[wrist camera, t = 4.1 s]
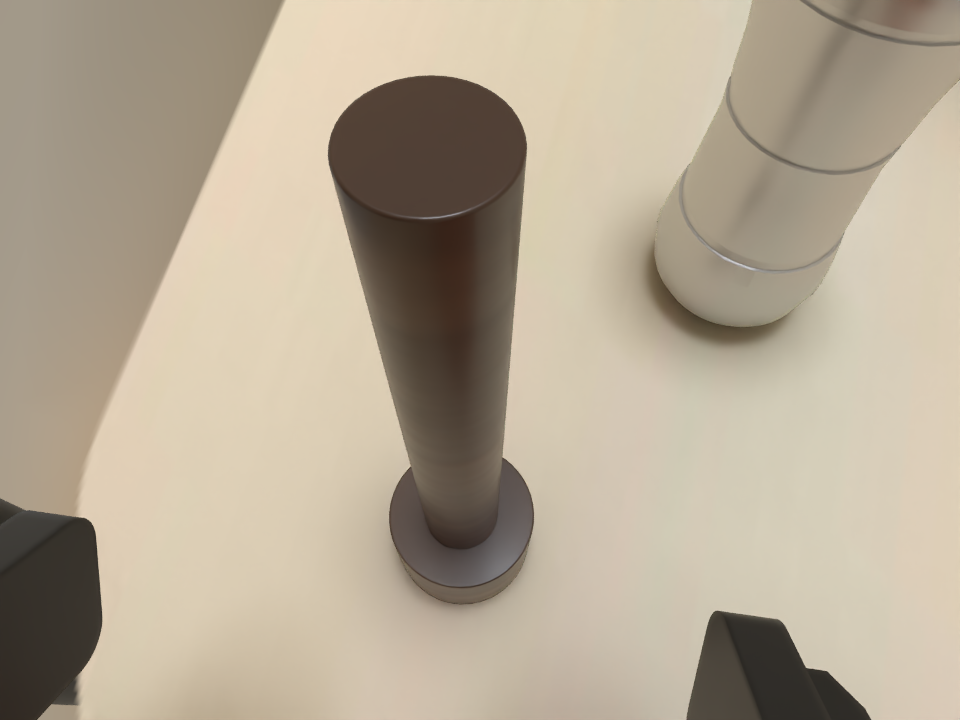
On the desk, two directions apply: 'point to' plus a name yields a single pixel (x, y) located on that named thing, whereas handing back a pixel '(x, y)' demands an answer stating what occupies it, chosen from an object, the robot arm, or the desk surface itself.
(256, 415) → the desk surface
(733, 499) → the desk surface
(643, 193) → the desk surface
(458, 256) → the dark brown pestle
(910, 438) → the desk surface
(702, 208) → the plastic bottle
